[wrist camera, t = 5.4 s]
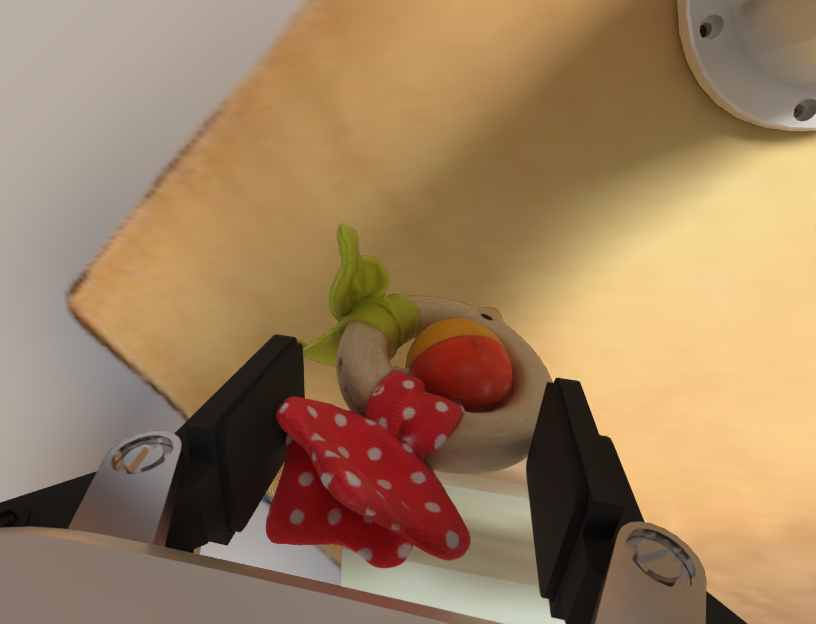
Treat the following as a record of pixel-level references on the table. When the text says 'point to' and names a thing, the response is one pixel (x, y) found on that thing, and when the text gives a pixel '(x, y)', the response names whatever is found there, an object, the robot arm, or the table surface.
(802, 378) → the table surface
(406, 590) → the striped stacked block
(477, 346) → the bird rattle
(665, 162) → the table surface
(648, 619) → the robot arm
